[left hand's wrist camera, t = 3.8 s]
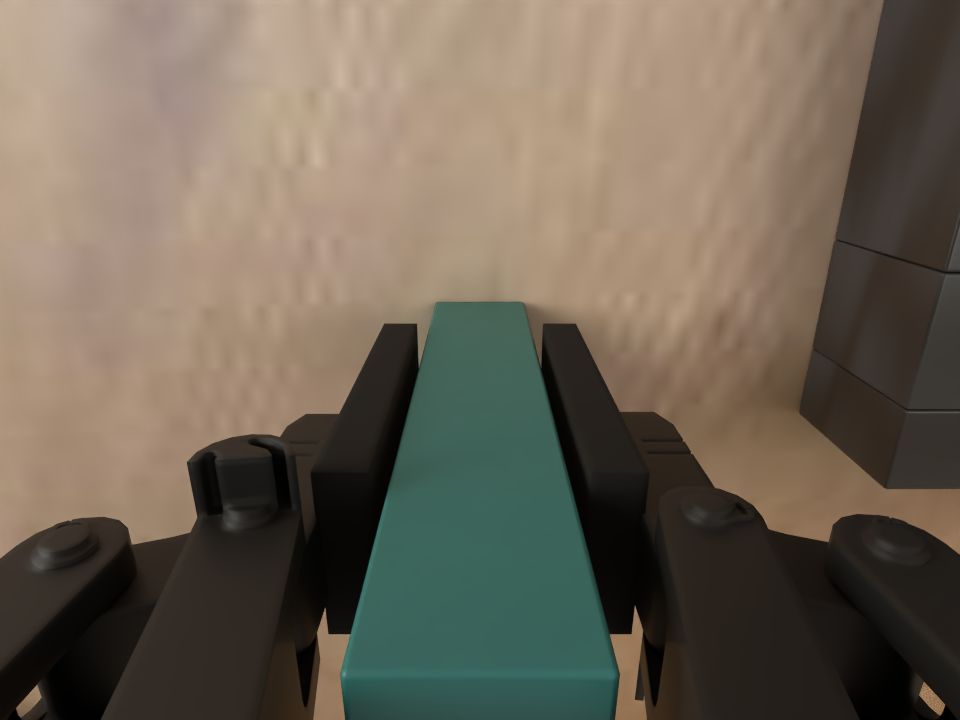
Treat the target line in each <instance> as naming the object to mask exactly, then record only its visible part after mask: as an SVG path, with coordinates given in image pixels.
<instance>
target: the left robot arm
mask: <svg viewBox="0 0 960 720" xmlns="http://www.w3.org/2000/svg"><path fill="white" fill-rule="evenodd" d="M541 370H542V374H543V378H544V382H545V386H546V390H547V394H548V398H549V401H550V405H551V409H552V413H553V417H554V421H555V425H556V429H557V433H558V436H559V440H560V444H561V448H562V452H563V456H564V460H565V464H566V467H567V471H568V475H569V479H570V483H571V487H572V491H573V495H574V498H575V502H576V506H577V510H578V514H579V518H580V522H581V526H582V529H583V533H584V537H585V541H586V545H587V549H588V553H589V557H590V560H591V564H592V568H593V572H594V576H595V580H596V584H597V588H598V592H599V595H600V599H601V603H602V607H603V611H604V615H605V619H606V623H607V626H608V630H609V634H632V625H633V616H634V607H635V606H636V609H637V612H638V615H639V618H640V621H641V625H642V628H643V638H642V646H641V654H640V662H639V670H638V678H637V687H636V695H635V700H642V701H643V698H644V697H645V706H646V714H647V720H960V555H959V554H958V553H957V552H955V551H954V550H953V549H952V548H950V547H949V546H948V545H947V544H945V543H944V542H942V541H941V540H939V539H937V538H936V537H934V536H933V535H931V534H929V533H928V532H926V531H925V530H922V529H920V528H917V527H915V526H912V525H910V524H908V523H906V522H905V521H902V520H899V519H895V518H889V517H887V516H881V515H863V514H856V515H851V516H846V517H842V518H840V519H839V520H838V521H837V522H836V523H835V524H834V525H833V527H832V531H831V535H830V539H829V542H824V541H819V540H814V539H809V538H803V537H798V536H793V535H788V534H784V533H780V532H776V531H772V530H769V529H768V527H767V525H766V523H765V521H764V519H763V517H762V516H761V515H760V513H759V512H758V511H757V510H756V508H755V507H754V506H753V505H752V504H750V503H748V502H747V501H745V500H744V499H742V498H741V497H739V496H737V495H735V494H732V493H729V492H727V491H724V490H721V489H717V488H715V487H714V486H713V484H712V483H711V481H710V480H709V478H708V477H707V475H706V474H705V472H704V470H703V469H702V467H701V466H700V464H699V463H698V461H697V460H696V458H695V457H694V455H693V454H691V451H690V449H689V448H688V446H687V445H686V443H685V442H683V439H682V437H681V436H680V434H679V433H678V431H677V430H676V428H675V427H674V425H673V424H672V423H670V422H669V421H667V420H665V419H664V418H662V417H661V416H659V415H658V414H656V413H655V412H619V410H618V408H617V406H616V404H615V402H614V400H613V398H612V396H611V394H610V392H609V390H608V388H607V386H606V384H605V382H604V380H603V378H602V376H601V374H600V372H599V370H598V368H597V366H596V364H595V362H594V360H593V358H592V356H591V354H590V352H589V349H588V347H587V345H586V343H585V341H584V339H583V337H582V335H581V333H580V331H579V329H578V327H577V325H576V324H543V338H542V364H541ZM418 371H419V365H418V339H417V324H384V325H383V327H382V329H381V331H380V333H379V335H378V337H377V339H376V341H375V343H374V345H373V347H372V349H371V351H370V353H369V355H368V357H367V359H366V361H365V364H364V366H363V368H362V370H361V372H360V374H359V376H358V378H357V380H356V382H355V384H354V386H353V388H352V390H351V392H350V394H349V396H348V398H347V400H346V402H345V404H344V406H343V408H342V410H341V412H340V414H306V415H304V416H303V417H301V418H299V419H298V420H296V421H295V422H293V423H292V424H290V425H289V426H287V427H286V429H285V431H284V432H283V434H282V435H281V437H277V436H273V435H256V434H251V435H245V436H238V437H232V438H229V439H225V440H222V441H219V442H216V443H213V444H211V445H209V446H207V447H205V448H204V449H202V450H200V451H198V452H196V454H195V455H194V456H193V457H192V458H191V459H190V460H189V461H188V462H187V466H188V471H189V476H190V481H191V486H192V491H193V496H194V502H195V507H196V512H197V517H198V518H197V520H196V522H195V524H194V526H193V528H192V531H191V533H187V534H183V535H179V536H175V537H171V538H166V539H161V540H155V541H150V542H145V543H140V544H135V545H132V543H131V539H130V535H129V531H128V528H127V527H126V526H125V525H124V524H123V523H122V522H120V521H119V520H115V519H111V518H106V517H95V518H79V519H74V520H72V521H65V522H62V523H58V524H56V525H54V526H53V527H51V528H48V529H46V530H43V531H41V532H39V533H36V534H35V535H33V536H31V537H30V538H28V539H27V540H25V541H23V542H22V543H20V544H19V545H17V546H16V547H14V548H13V549H12V550H11V551H9V552H8V553H7V554H6V555H4V556H3V557H2V558H1V559H0V720H313V716H314V707H315V699H316V690H317V682H318V673H319V665H320V654H319V646H318V638H317V631H318V628H319V625H320V622H321V618H322V615H323V612H324V609H325V607H326V616H327V625H328V634H351V631H352V627H353V623H354V619H355V615H356V611H357V608H358V604H359V600H360V596H361V592H362V588H363V584H364V580H365V576H366V573H367V569H368V565H369V561H370V557H371V553H372V549H373V545H374V542H375V538H376V534H377V530H378V526H379V522H380V518H381V514H382V510H383V507H384V503H385V499H386V495H387V491H388V487H389V483H390V479H391V476H392V472H393V468H394V464H395V460H396V456H397V452H398V448H399V444H400V441H401V437H402V433H403V429H404V425H405V421H406V417H407V413H408V410H409V406H410V402H411V398H412V394H413V390H414V386H415V382H416V378H417V375H418ZM923 682H925V683H926V684H927V685H928V686H929V687H930V688H931V689H932V691H933V692H934V693H935V694H936V695H937V696H938V697H939V698H940V699H941V700H942V701H943V703H944V704H945V708H944V710H943V713H942V714H941V716H940V715H938V714H937V713H936V712H934V711H933V710H932V709H931V708H930V707H929V706H928V705H927V704H926V703H925V702H924V700H923V699H922V698H921V697H920V696H919V694H920V691H921V688H922V685H923ZM36 685H38V688H39V691H40V694H41V697H42V698H41V699H40V701H39V702H38V703H37V704H36V705H35V706H34V707H33V709H32V710H30V711H29V712H28V713H27V714H25V715H24V716H23V717H22V718H20V717H19V716H18V713H17V711H16V707H17V706H18V705H19V704H20V703H21V702H22V701H23V700H24V698H25V697H26V696H27V695H28V694H29V693H30V692H31V691H32V690H33V688H34V687H35V686H36Z"/></svg>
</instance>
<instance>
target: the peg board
mask: <svg viewBox="0 0 960 720" xmlns="http://www.w3.org/2000/svg"><path fill="white" fill-rule="evenodd" d="M836 239H837V241H835V242H834V246H833V251H832V256H831V261H830V265H829V270H828V275H827V280H826V285H825V290H824V295H823V299H822V304H821V309H820V314H819V319H818V324H817V329H816V334H815V338H814V343H813V349H814V350H812V353H811V358H810V363H809V368H808V373H807V378H806V383H805V388H804V392H803V397H802V402H801V407H800V414H801V415H802V416H803V417H804V418H805V419H806V420H807V421H809V422H810V423H811V424H812V425H813V426H814V427H815V428H817V429H818V430H819V431H820V432H821V433H822V434H823V435H824V436H826V437H827V438H828V439H829V440H830V441H831V442H832V443H834V444H835V445H836V446H837V447H838V448H839V449H840V450H841V451H843V452H844V453H845V454H846V455H847V456H848V457H849V458H851V459H852V460H853V461H854V462H855V463H856V464H857V465H859V466H860V467H861V468H862V469H863V470H864V471H865V472H866V473H868V474H869V475H870V476H871V477H872V478H873V479H874V480H876V481H877V482H878V483H879V484H880V485H881V486H882V487H883V488H886V489H960V0H884V4H883V9H882V14H881V19H880V24H879V28H878V33H877V38H876V43H875V48H874V53H873V58H872V63H871V67H870V72H869V77H868V82H867V87H866V92H865V97H864V101H863V106H862V111H861V116H860V121H859V126H858V131H857V135H856V140H855V145H854V150H853V155H852V160H851V165H850V169H849V174H848V179H847V184H846V189H845V194H844V199H843V204H842V208H841V213H840V218H839V223H838V228H837V233H836Z"/></svg>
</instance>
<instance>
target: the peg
mask: <svg viewBox="0 0 960 720" xmlns="http://www.w3.org/2000/svg"><path fill="white" fill-rule="evenodd" d="M340 676H341V685H342V694H343V704H344V713H345V720H615V714H616V705H617V696H618V687H619V677H620V673H619V669H618V665H617V661H616V657H615V654H614V650H613V646H612V642H611V638H610V634H609V630H608V626H607V623H606V619H605V615H604V611H603V607H602V603H601V599H600V595H599V592H598V588H597V584H596V580H595V576H594V572H593V568H592V564H591V560H590V557H589V553H588V549H587V545H586V541H585V537H584V533H583V529H582V526H581V522H580V518H579V514H578V510H577V506H576V502H575V498H574V495H573V491H572V487H571V483H570V479H569V475H568V471H567V467H566V464H565V460H564V456H563V452H562V448H561V444H560V440H559V436H558V433H557V429H556V425H555V421H554V417H553V413H552V409H551V405H550V401H549V398H548V394H547V390H546V386H545V382H544V378H543V374H542V370H541V367H540V363H539V359H538V355H537V351H536V347H535V343H534V339H533V336H532V332H531V328H530V324H529V320H528V316H527V312H526V308H525V305H524V303H522V302H438V303H436V305H435V309H434V312H433V316H432V320H431V324H430V328H429V332H428V336H427V340H426V344H425V347H424V351H423V355H422V359H421V363H420V367H419V371H418V375H417V378H416V382H415V386H414V390H413V394H412V398H411V402H410V406H409V410H408V413H407V417H406V421H405V425H404V429H403V433H402V437H401V441H400V444H399V448H398V452H397V456H396V460H395V464H394V468H393V472H392V476H391V479H390V483H389V487H388V491H387V495H386V499H385V503H384V507H383V510H382V514H381V518H380V522H379V526H378V530H377V534H376V538H375V542H374V545H373V549H372V553H371V557H370V561H369V565H368V569H367V573H366V576H365V580H364V584H363V588H362V592H361V596H360V600H359V604H358V608H357V611H356V615H355V619H354V623H353V627H352V631H351V635H350V639H349V642H348V646H347V650H346V654H345V658H344V662H343V666H342V670H341V674H340Z"/></svg>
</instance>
